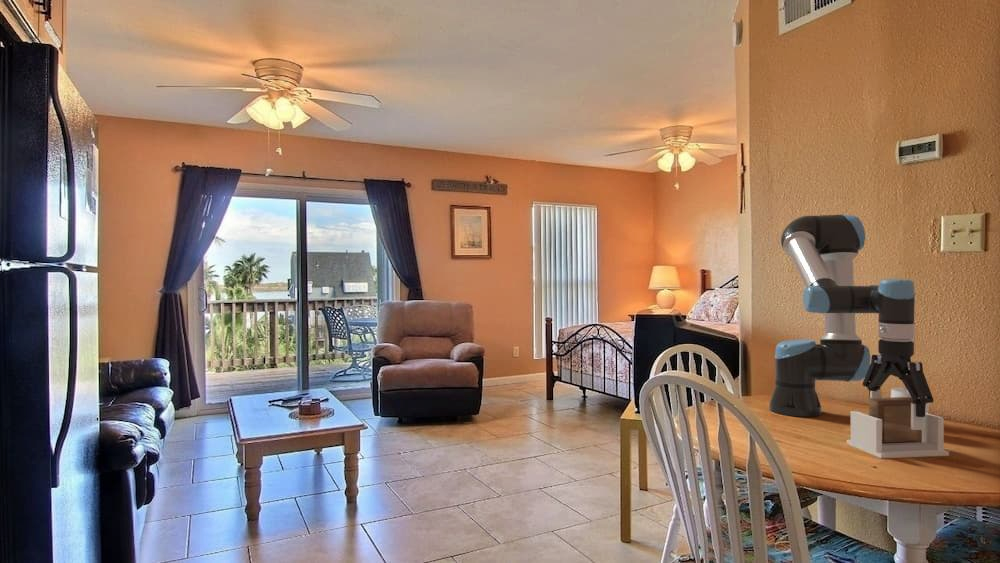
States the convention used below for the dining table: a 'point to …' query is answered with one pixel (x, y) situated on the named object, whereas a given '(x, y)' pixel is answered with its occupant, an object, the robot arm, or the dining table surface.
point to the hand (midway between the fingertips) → (895, 422)
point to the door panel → (895, 419)
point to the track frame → (870, 440)
